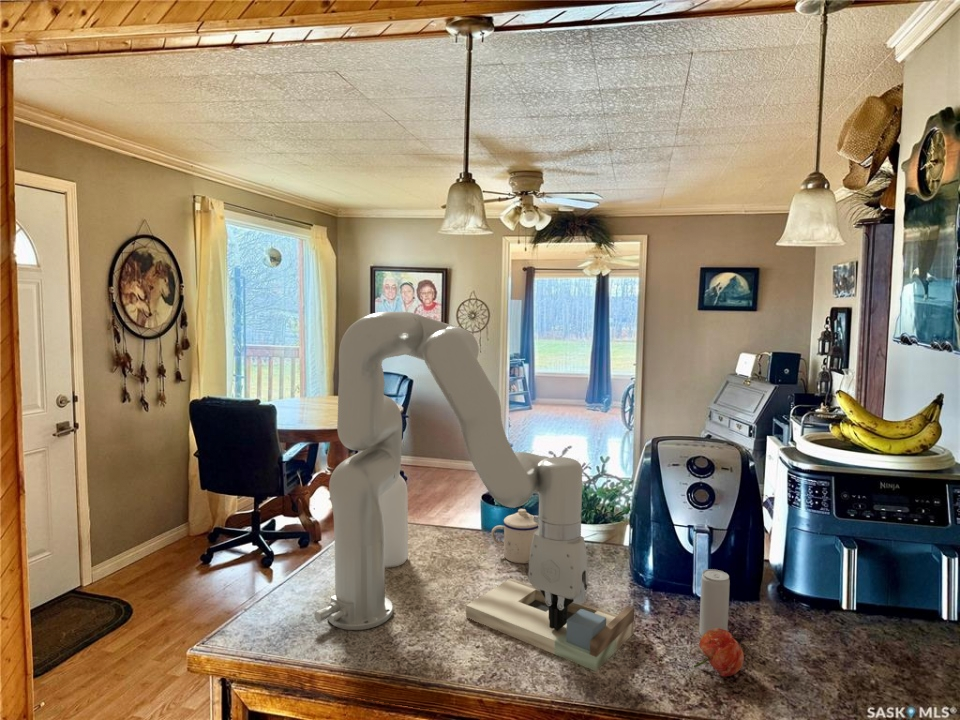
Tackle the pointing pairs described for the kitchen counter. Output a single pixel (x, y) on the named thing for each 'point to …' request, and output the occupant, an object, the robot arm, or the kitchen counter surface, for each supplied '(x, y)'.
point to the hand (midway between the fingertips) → (557, 625)
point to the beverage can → (714, 600)
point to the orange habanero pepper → (722, 651)
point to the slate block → (584, 628)
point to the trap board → (528, 620)
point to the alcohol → (395, 523)
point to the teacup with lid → (517, 536)
